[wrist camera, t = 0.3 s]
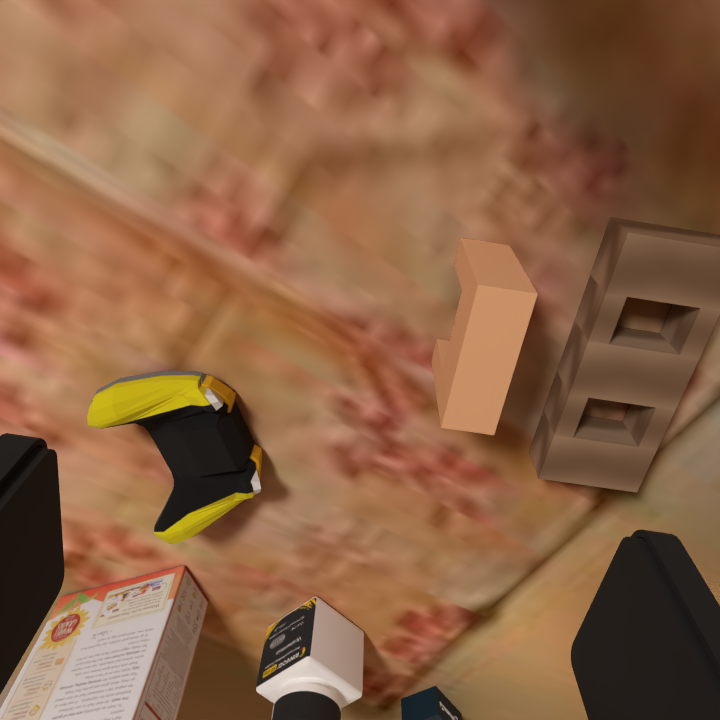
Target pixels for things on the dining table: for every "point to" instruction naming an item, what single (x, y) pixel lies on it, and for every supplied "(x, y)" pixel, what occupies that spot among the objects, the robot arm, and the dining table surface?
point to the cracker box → (113, 652)
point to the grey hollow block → (629, 355)
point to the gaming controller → (187, 443)
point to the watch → (428, 706)
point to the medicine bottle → (311, 663)
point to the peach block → (482, 337)
